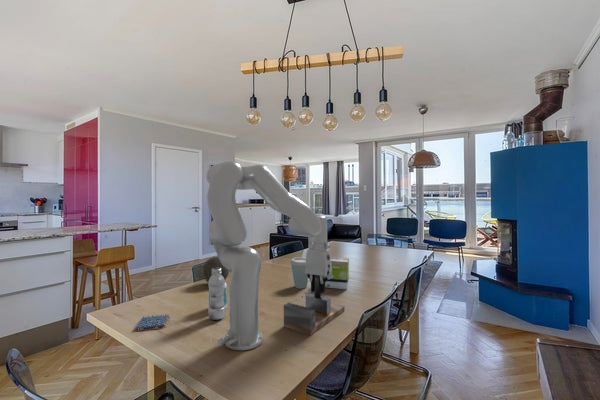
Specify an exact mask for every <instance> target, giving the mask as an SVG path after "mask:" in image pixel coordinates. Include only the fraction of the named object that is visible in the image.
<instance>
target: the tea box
mask: <svg viewBox="0 0 600 400" xmlns="http://www.w3.org/2000/svg"><path fill="white" fill-rule="evenodd" d="M349 259H350V258H349V257H347V258H346V257H345V258H344V257H332V256H331V266H332V272H331V273H332V275H333V278H331V279H329V280H327V281H326V282H325V288H328V289H330V288H331V289H337V290H339V289H341V290H348V287H349V283H350V282H349V280H350V279H349V276H350V274H349V273H350V271H349V270H350V267H349V265H350V260H349ZM327 276H328V274H327V275H326V277H327Z"/></svg>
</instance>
